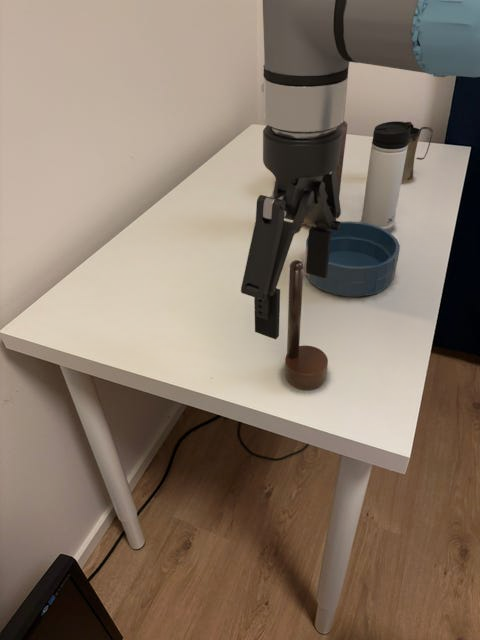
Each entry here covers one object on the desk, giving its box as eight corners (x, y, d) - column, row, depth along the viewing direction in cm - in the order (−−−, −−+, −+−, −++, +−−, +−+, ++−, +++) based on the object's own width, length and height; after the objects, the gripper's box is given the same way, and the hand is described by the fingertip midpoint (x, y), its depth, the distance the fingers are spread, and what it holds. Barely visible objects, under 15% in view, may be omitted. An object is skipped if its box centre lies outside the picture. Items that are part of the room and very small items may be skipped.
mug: (385, 180, 113) (393, 128, 106) (390, 172, 117) (398, 120, 109) (420, 186, 110) (431, 132, 103) (424, 176, 114) (435, 124, 106)
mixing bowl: (404, 263, 86) (411, 233, 82) (376, 309, 76) (381, 278, 73) (325, 242, 93) (328, 214, 89) (289, 283, 83) (290, 253, 79)
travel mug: (397, 234, 94) (418, 129, 81) (363, 235, 94) (378, 130, 82) (390, 219, 99) (408, 117, 86) (358, 219, 99) (371, 118, 86)
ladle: (332, 369, 67) (345, 259, 55) (315, 396, 63) (325, 285, 52) (295, 356, 69) (301, 248, 58) (277, 381, 65) (279, 271, 54)
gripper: (320, 87, 56) (308, 247, 69) (194, 164, 39) (211, 352, 53) (384, 95, 52) (359, 261, 66) (275, 182, 36) (272, 377, 50)
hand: (293, 302), depth 60 cm, fingers open, 13 cm apart
